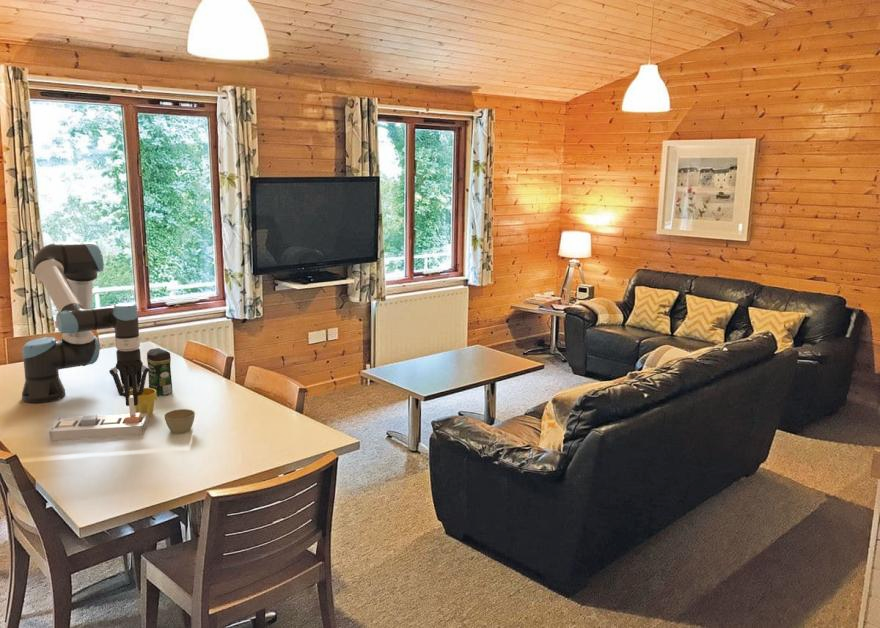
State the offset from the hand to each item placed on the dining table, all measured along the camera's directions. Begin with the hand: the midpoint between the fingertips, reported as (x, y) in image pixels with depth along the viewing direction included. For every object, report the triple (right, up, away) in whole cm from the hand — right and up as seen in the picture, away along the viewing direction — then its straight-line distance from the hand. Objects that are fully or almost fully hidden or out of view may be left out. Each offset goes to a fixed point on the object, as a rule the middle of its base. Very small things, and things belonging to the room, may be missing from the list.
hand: (132, 414), depth 248 cm
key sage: (-7, -4, -1) cm, 8 cm away
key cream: (-21, -5, -4) cm, 22 cm away
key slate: (-14, -3, -3) cm, 14 cm away
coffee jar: (-7, +2, +43) cm, 44 cm away
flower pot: (+16, -7, +1) cm, 18 cm away
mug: (-25, +5, +55) cm, 60 cm away
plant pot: (-3, -3, +16) cm, 17 cm away
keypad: (-11, -7, -1) cm, 12 cm away
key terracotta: (0, -3, +1) cm, 3 cm away
